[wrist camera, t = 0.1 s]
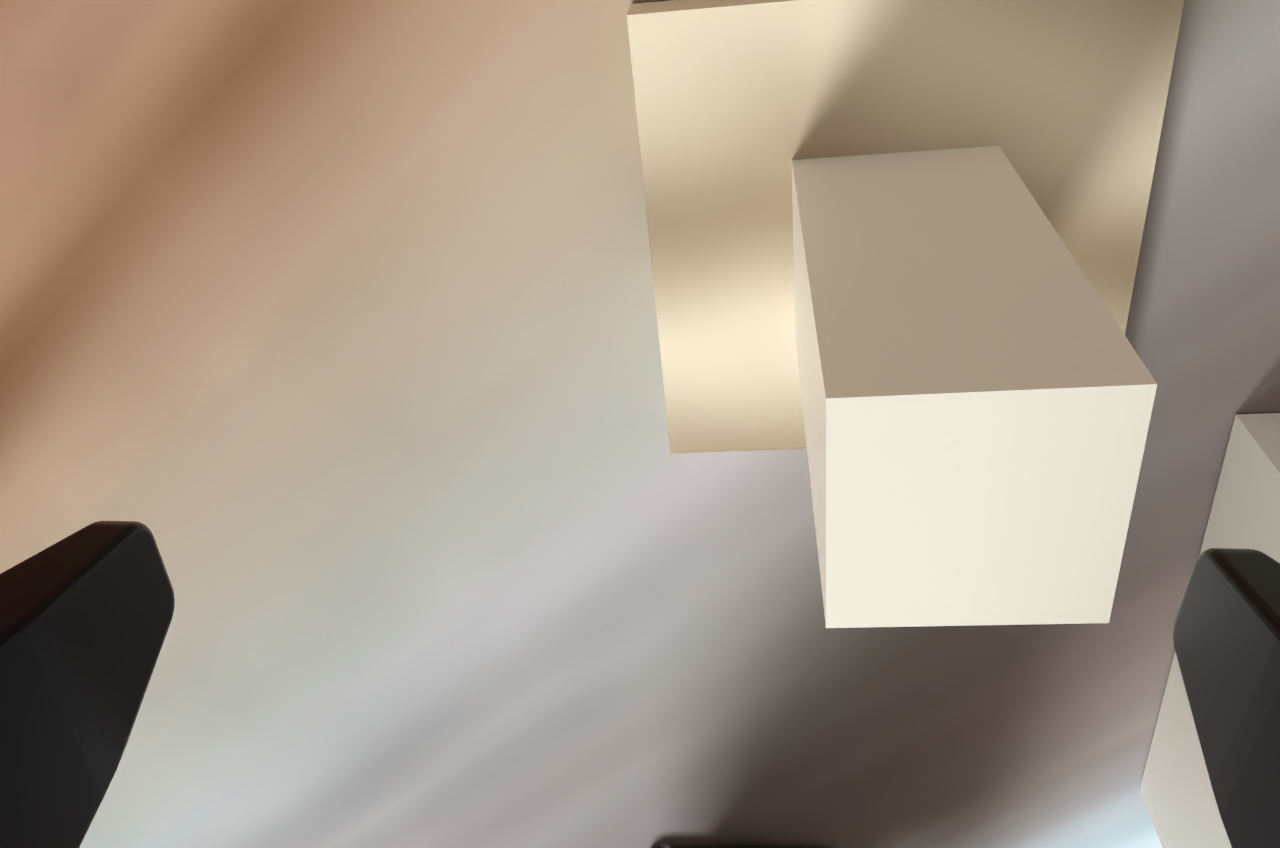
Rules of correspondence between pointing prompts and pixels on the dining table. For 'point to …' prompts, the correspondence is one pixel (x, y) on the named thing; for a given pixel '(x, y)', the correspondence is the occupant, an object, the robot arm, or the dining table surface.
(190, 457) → the dining table surface
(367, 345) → the dining table surface
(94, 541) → the robot arm
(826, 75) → the stud base
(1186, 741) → the grey bin
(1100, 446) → the strut
